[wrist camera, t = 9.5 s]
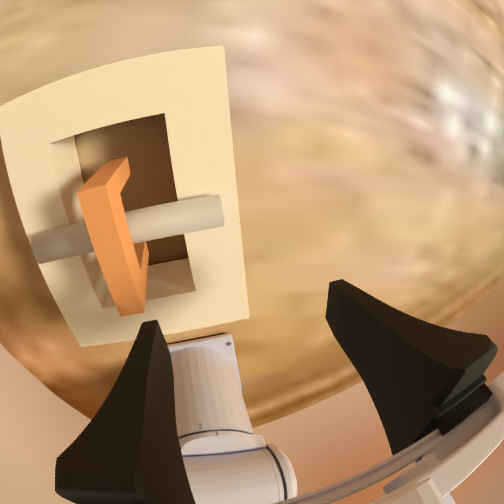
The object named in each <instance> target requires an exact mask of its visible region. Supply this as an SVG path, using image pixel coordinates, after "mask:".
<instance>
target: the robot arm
mask: <svg viewBox="0 0 504 504" xmlns="http://www.w3.org/2000/svg"><path fill="white" fill-rule="evenodd" d="M325 318H326V320H327V322H328V324H329V326H330V328H331V330H332V332H333V334H334V336H335V338H336V340H337V341H338V343H339V344H340V346H341V347H342V349H343V350H344V352H345V353H346V355H347V356H348V358H349V359H350V361H351V362H352V364H353V365H354V367H355V368H356V370H357V371H358V373H359V374H360V376H361V378H362V380H363V381H364V383H365V385H366V387H367V389H368V391H369V394H370V395H371V398H372V400H373V402H374V404H375V407H376V409H377V411H378V414H379V416H380V419H381V421H382V424H383V427H384V429H385V432H386V435H387V438H388V441H389V444H390V448H391V451H392V454H393V456H392V457H390V458H388V459H386V460H384V461H382V462H380V463H378V464H376V465H374V466H372V467H370V468H368V469H366V470H364V471H362V472H360V473H357V474H355V475H353V476H351V477H348V478H346V479H343V480H341V481H339V482H336V483H334V484H331V485H329V486H326V487H323V488H320V489H318V490H315V491H312V492H309V493H306V494H303V495H300V496H297V481H296V476H295V473H294V470H293V467H292V465H291V463H290V461H289V459H288V457H287V456H286V455H285V453H284V452H282V451H281V450H280V449H279V448H278V447H276V446H275V445H273V444H265V442H264V439H263V436H262V434H254V432H253V429H252V426H251V423H250V419H249V416H248V413H247V410H246V406H245V403H244V400H243V396H242V393H241V392H242V387H241V382H240V376H239V371H238V365H237V360H236V354H235V349H234V343H233V338H232V335H231V334H228V333H227V334H222V335H217V336H212V337H207V338H202V339H197V340H191V341H186V342H181V343H175V344H169V345H167V343H166V341H165V338H164V336H163V333H162V330H161V328H160V325H159V322H158V320H151V321H146V322H143V323H142V324H141V326H140V329H139V331H138V334H137V337H136V339H135V342H134V344H133V346H132V349H131V351H130V353H129V356H128V358H127V360H126V362H125V365H124V367H123V369H122V371H121V373H120V375H119V377H118V379H117V381H116V383H115V384H114V386H113V388H112V390H111V391H110V393H109V395H108V397H107V398H106V400H105V401H104V403H103V404H102V406H101V407H100V409H99V410H98V412H97V413H96V415H95V416H94V418H93V419H92V420H91V422H90V423H89V424H88V425H87V427H86V428H85V429H84V430H83V432H82V433H81V434H80V435H79V436H78V437H77V439H76V440H75V441H74V442H73V443H72V444H71V445H70V446H69V447H68V448H67V449H66V450H65V451H64V452H63V453H62V454H61V455H60V456H59V457H57V461H56V467H55V468H56V469H55V491H56V493H57V494H58V495H60V496H61V497H63V498H65V499H67V500H69V501H72V502H74V503H76V504H330V503H332V502H335V501H338V500H340V499H343V498H345V497H347V496H350V495H352V494H354V493H356V492H359V491H361V490H363V489H365V488H367V487H369V486H371V485H373V484H375V483H377V482H379V481H381V480H383V479H385V478H387V477H389V476H391V475H393V474H394V473H396V472H398V471H400V470H401V469H403V468H405V467H407V466H408V465H410V464H412V463H413V462H415V461H416V460H417V461H416V464H415V465H413V466H412V467H410V468H409V469H407V470H406V471H404V472H403V473H401V474H400V475H399V476H398V477H397V478H395V479H394V480H393V481H391V482H390V483H388V484H387V485H385V486H384V487H383V490H384V492H385V493H386V495H385V496H383V497H381V498H379V499H377V500H375V501H373V502H371V503H369V504H456V503H455V502H454V500H453V498H452V497H451V495H450V492H451V491H452V490H453V489H454V488H455V487H457V486H458V485H459V484H460V483H461V482H462V481H464V480H465V479H466V478H467V477H468V476H469V475H470V474H471V473H472V472H473V471H474V470H475V469H476V468H477V467H478V466H479V465H480V464H481V463H482V462H483V461H484V460H485V459H486V458H487V457H488V456H489V455H490V454H491V453H492V452H493V451H494V449H495V448H496V447H497V446H498V445H499V444H500V443H501V441H502V440H503V439H504V371H503V372H502V373H501V374H500V375H499V376H498V377H497V378H496V379H494V381H492V382H491V383H490V384H489V385H488V387H487V386H486V384H485V382H486V377H485V376H484V375H483V374H484V372H485V370H486V369H487V368H488V366H489V365H490V363H491V362H492V360H493V359H494V357H495V355H496V353H497V349H498V347H497V346H496V345H495V344H494V343H493V342H492V341H491V339H490V338H489V337H488V336H487V335H482V334H474V333H466V332H461V331H456V330H452V329H447V328H444V327H440V326H437V325H434V324H431V323H428V322H425V321H422V320H420V319H417V318H415V317H412V316H410V315H408V314H405V313H403V312H401V311H399V310H397V309H395V308H393V307H391V306H389V305H387V304H385V303H383V302H382V301H380V300H378V299H376V298H374V297H373V296H371V295H369V294H367V293H366V292H364V291H362V290H360V289H359V288H357V287H355V286H354V285H352V284H350V283H348V282H346V281H344V280H342V279H340V280H337V281H333V282H329V291H328V301H327V309H326V317H325ZM226 342H228V343H226Z"/></svg>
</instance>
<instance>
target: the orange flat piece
mask: <svg viewBox="0 0 504 504" xmlns="http://www.w3.org/2000/svg"><path fill="white" fill-rule="evenodd" d="M130 174H131V173H130V168H129V163H128V157H123V158H119V159H115V160H110V161H107V162H106V163H105V164H104V165H103V166H102V167H101V168H100V169H99V170H98V171H97V172H96V173H95V174H94V175H93V176H92V177H91V178H90V179H89V180H88V181H87V182H86V183H85V184H84V185H83V186H82V187H81V188H80V189H79V191H78V192H77V195H78V198H79V202H80V206H81V209H82V213H83V216H84V219H85V223H86V226H87V229H88V232H89V235H90V239H91V242H92V245H93V248H94V250H95V253H96V256H97V259H98V262H99V265H100V267H101V270H102V273H103V275H104V278H105V280H106V283H107V286H108V288H109V291H110V293H111V295H112V298H113V300H114V303H115V305H116V307H117V310H118V312H119V314H120V316H127V315H133V314H139V313H145V296H146V281H147V269H148V258H149V251H148V247H147V244H146V241H145V242H140V243H135V244H133V242H132V239H131V235H130V231H129V227H128V224H127V220H126V216H125V212H124V208H123V204H122V199H121V195H120V193H121V191H122V189H123V187H124V185H125V183H126V181H127V180H128V178H129V176H130Z"/></svg>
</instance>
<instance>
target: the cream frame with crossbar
mask: <svg viewBox="0 0 504 504" xmlns="http://www.w3.org/2000/svg"><path fill="white" fill-rule="evenodd" d="M162 113H165V119H166V127H167V134H168V142H169V149H170V156H171V162H172V169H173V175H174V181H175V187H176V193H177V199H178V201H175V202H170V203H165V204H160V205H155V206H150V207H145V208H140V209H135V210H131V211H126V212H125V216H126V220H127V224H128V227H129V231H130V235H131V239H132V242H133V244H135V243H140V242H145V241H150V240H155V239H160V238H165V237H170V236H175V235H180V234H184V237H185V242H186V247H187V252H188V257H189V258H185V259H180V260H175V261H170V262H165V263H160V264H154V265H149V266H148V269H147V281H146V296H145V313H139V314H133V315H127V316H120V314H119V312H118V310H117V307H116V305H115V303H114V300H113V298H112V295H111V293H110V291H109V288H108V286H107V283H106V280H105V278H104V275H103V273H102V270H101V267H100V265H99V262H98V259H97V256H96V253H95V250H94V248H93V245H92V242H91V239H90V235H89V232H88V229H87V226H86V223H85V219H84V216H83V213H82V209H81V206H80V202H79V198H78V195H77V192H78V191H79V189H80V188H81V187H82V186H83V185H84V182H83V178H82V173H81V169H80V164H79V160H78V155H77V150H76V144H75V139H74V135H77V134H80V133H83V132H86V131H90V130H93V129H97V128H101V127H104V126H108V125H112V124H116V123H120V122H124V121H128V120H133V119H137V118H142V117H147V116H152V115H157V114H162ZM0 137H1V143H2V149H3V154H4V159H5V163H6V168H7V172H8V176H9V180H10V184H11V188H12V191H13V195H14V198H15V202H16V205H17V208H18V212H19V215H20V218H21V221H22V224H23V227H24V229H25V232H26V235H27V238H28V240H29V243H30V246H31V249H32V254H33V257H34V259H35V260H36V262H37V263H38V265H39V268H40V270H41V272H42V274H43V277H44V279H45V281H46V283H47V285H48V287H49V290H50V292H51V294H52V296H53V298H54V300H55V302H56V304H57V306H58V308H59V309H60V311H61V313H62V315H63V317H64V319H65V321H66V322H67V324H68V326H69V328H70V330H71V331H72V333H73V335H74V336H75V338H76V340H77V342H78V343H79V345H80V346H81V347H86V346H94V345H102V344H109V343H116V342H123V341H130V340H135V339H136V337H137V334H138V331H139V329H140V326H141V324H142V323H143V322H146V321H151V320H158V322H159V325H160V328H161V330H162V333H163V335H166V334H172V333H177V332H183V331H188V330H193V329H199V328H204V327H209V326H214V325H219V324H223V323H228V322H233V321H237V320H242V319H246V318H249V308H248V299H247V289H246V279H245V269H244V259H243V249H242V239H241V229H240V219H239V208H238V198H237V187H236V177H235V166H234V155H233V144H232V133H231V122H230V111H229V99H228V88H227V76H226V64H225V52H224V46H211V47H201V48H191V49H183V50H176V51H170V52H163V53H158V54H152V55H147V56H142V57H137V58H132V59H128V60H124V61H120V62H116V63H112V64H108V65H104V66H101V67H97V68H94V69H91V70H87V71H84V72H81V73H78V74H75V75H72V76H69V77H66V78H64V79H61V80H58V81H56V82H53V83H50V84H48V85H45V86H43V87H40V88H38V89H36V90H33V91H31V92H29V93H27V94H24V95H22V96H20V97H18V98H16V99H14V100H12V101H10V102H8V103H6V104H4V105H2V106H0Z"/></svg>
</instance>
